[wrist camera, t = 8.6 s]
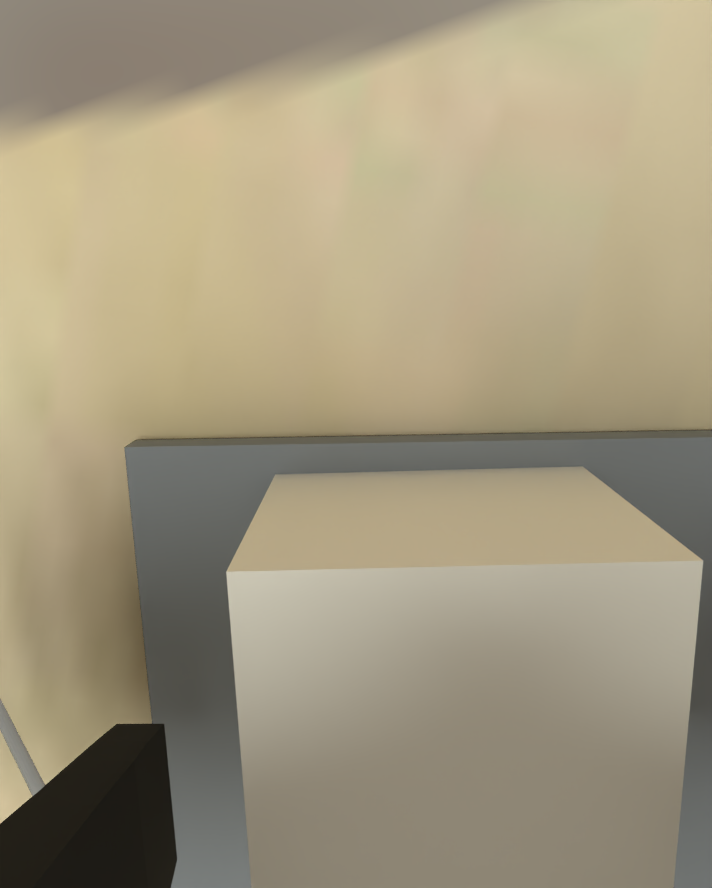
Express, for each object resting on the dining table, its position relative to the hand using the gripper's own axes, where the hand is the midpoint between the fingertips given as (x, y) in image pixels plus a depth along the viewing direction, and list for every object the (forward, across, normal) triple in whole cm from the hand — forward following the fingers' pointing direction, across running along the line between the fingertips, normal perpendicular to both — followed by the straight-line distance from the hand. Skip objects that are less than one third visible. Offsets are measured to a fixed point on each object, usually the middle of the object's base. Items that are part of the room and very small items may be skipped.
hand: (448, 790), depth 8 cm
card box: (+2, 0, 0) cm, 2 cm away
